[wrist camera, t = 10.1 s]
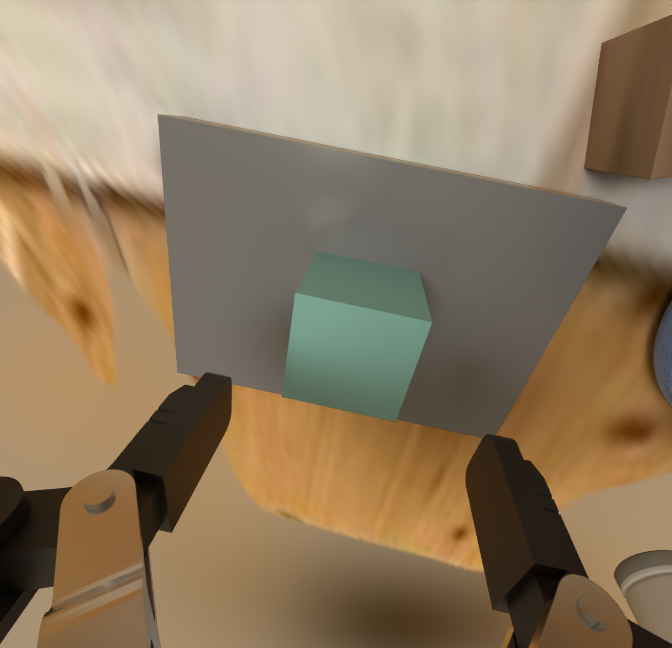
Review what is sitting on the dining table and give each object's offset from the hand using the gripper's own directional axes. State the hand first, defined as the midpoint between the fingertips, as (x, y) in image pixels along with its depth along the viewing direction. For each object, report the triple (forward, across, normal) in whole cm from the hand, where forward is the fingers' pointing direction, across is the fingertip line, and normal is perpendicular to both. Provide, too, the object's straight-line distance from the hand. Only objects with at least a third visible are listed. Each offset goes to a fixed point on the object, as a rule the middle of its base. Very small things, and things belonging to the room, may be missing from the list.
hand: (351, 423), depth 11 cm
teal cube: (+8, 0, 0) cm, 8 cm away
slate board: (+10, 0, 0) cm, 10 cm away
